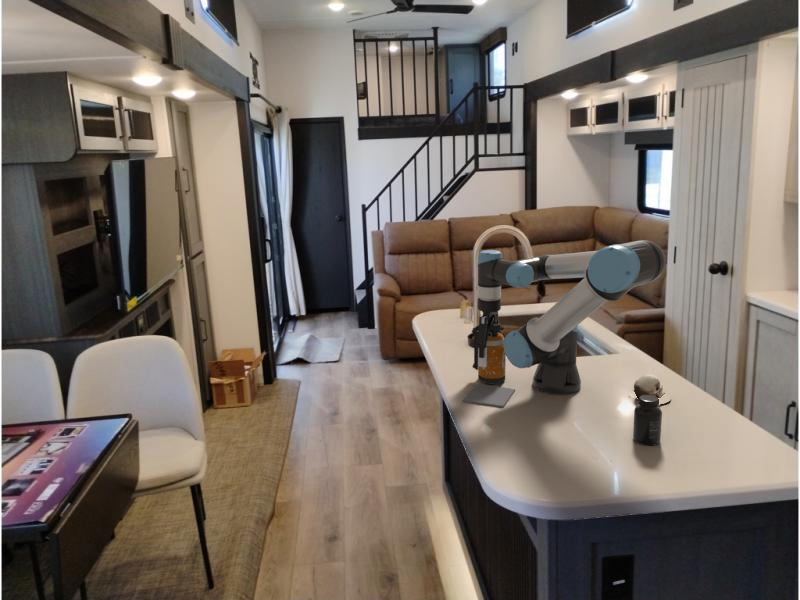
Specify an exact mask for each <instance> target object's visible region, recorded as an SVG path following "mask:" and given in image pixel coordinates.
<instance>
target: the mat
mask: <svg viewBox="0 0 800 600" xmlns="http://www.w3.org/2000/svg"><path fill="white" fill-rule="evenodd" d="M515 392H516V388H509V387H500V386H493V385H488V384H480V383H479V384H478V383H476V384H474V385H473V386H472V388H471V389H470V390H469V392H468V393H467V394H466V395H465V396H464V397H463V399H462V402H463V403H470V404H475V405H476V404H477V405H483V406H489V407H496V408H505V406H506V405H507V404H508V402H509V401H510V399H511V397H512V396H513V395H514V393H515Z"/></svg>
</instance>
